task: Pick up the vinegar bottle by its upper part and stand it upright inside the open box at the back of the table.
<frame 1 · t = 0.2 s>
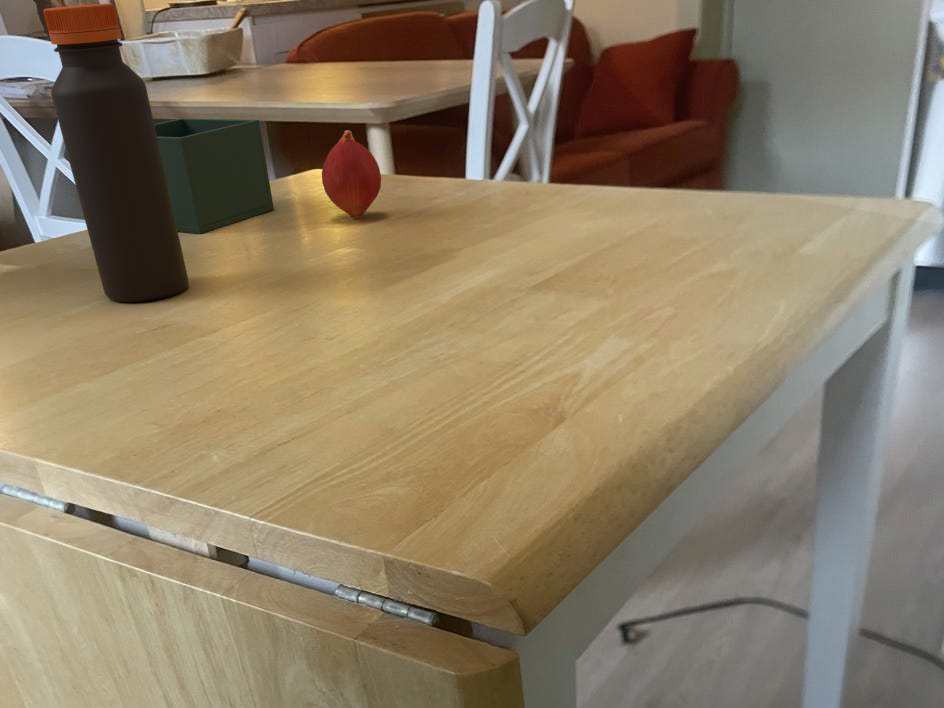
vinegar: (148, 294, 83), on the table
open box: (200, 218, 106), on the table
onion: (356, 220, 101), on the table
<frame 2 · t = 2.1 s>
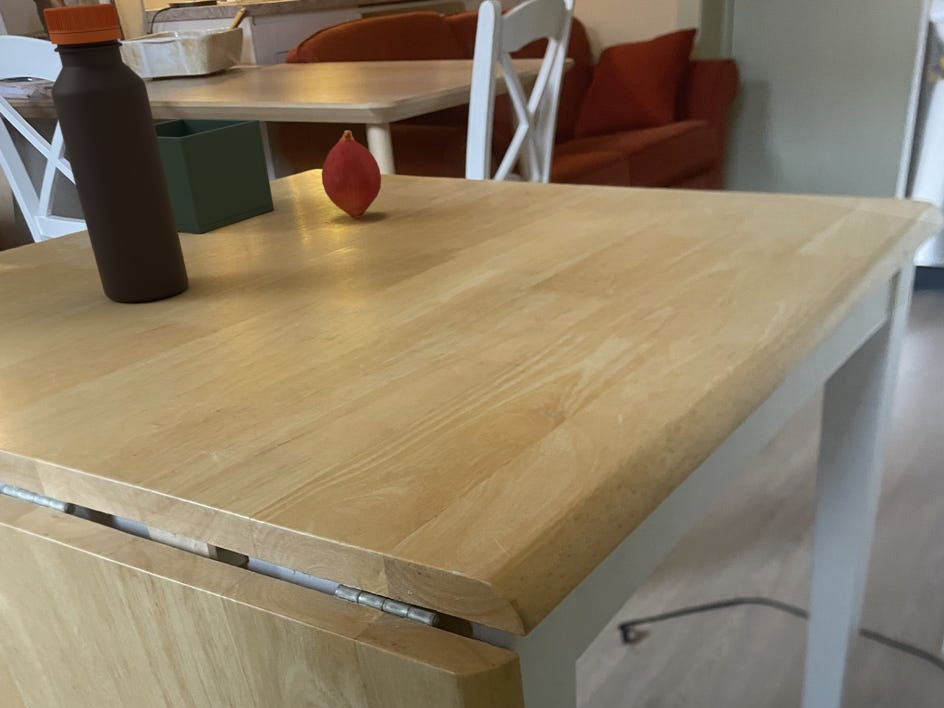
nothing on the table moved.
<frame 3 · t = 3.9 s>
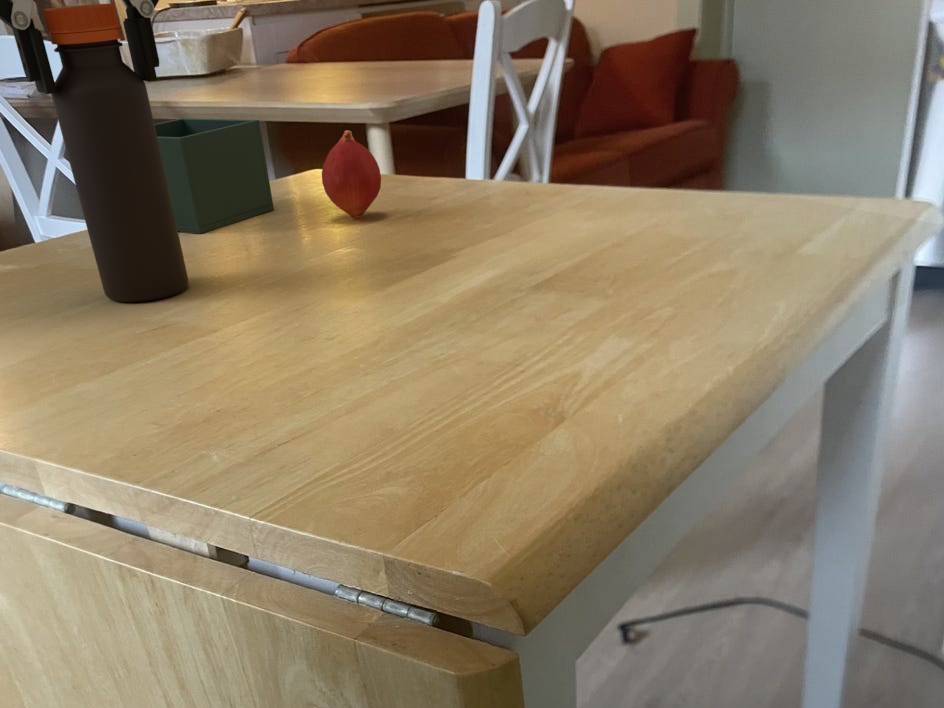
hand: (97, 83, 75), 15 cm above the table, tool pointing down, fingers closed on vinegar, 6 cm apart
vinegar: (148, 294, 83), on the table, touching gripper
everything else where it was.
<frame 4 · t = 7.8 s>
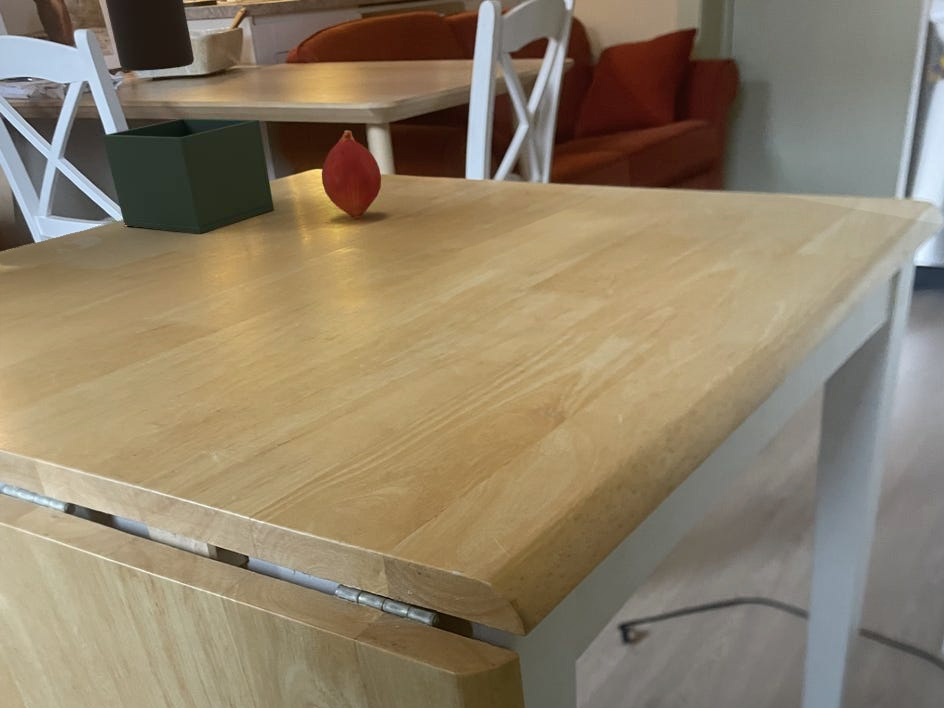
vinegar: (159, 69, 95), point 14 cm above the table, touching gripper
everything else where it was.
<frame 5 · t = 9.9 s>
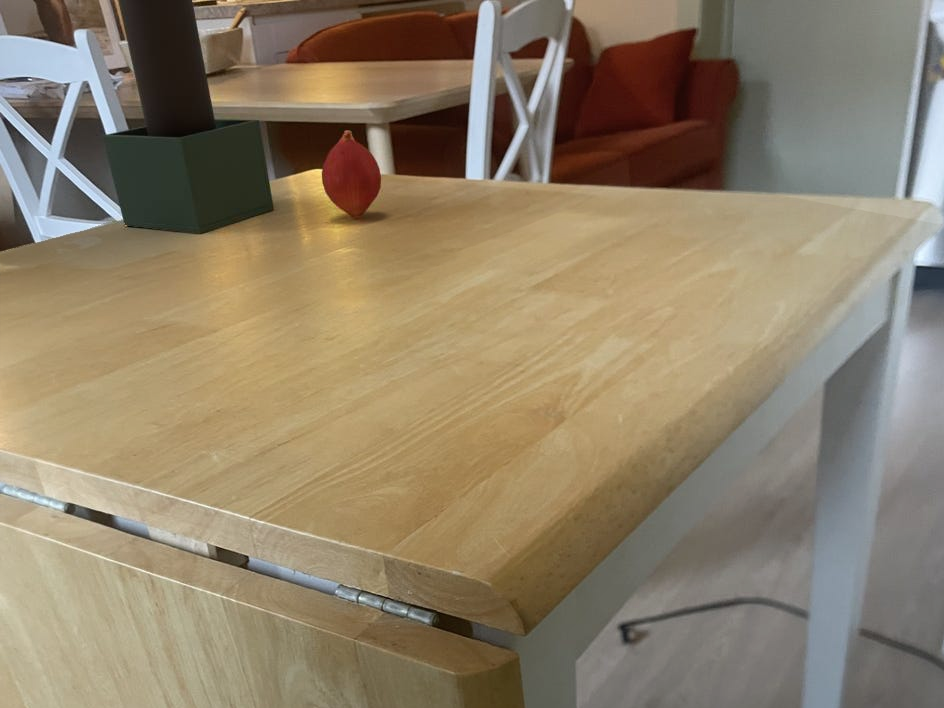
vinegar: (187, 158, 103), point 6 cm above the table, touching gripper
everything else where it was.
when the fingers open (16 cm above the table, at t = 11.7 s): vinegar stays where it is, resting on open box.
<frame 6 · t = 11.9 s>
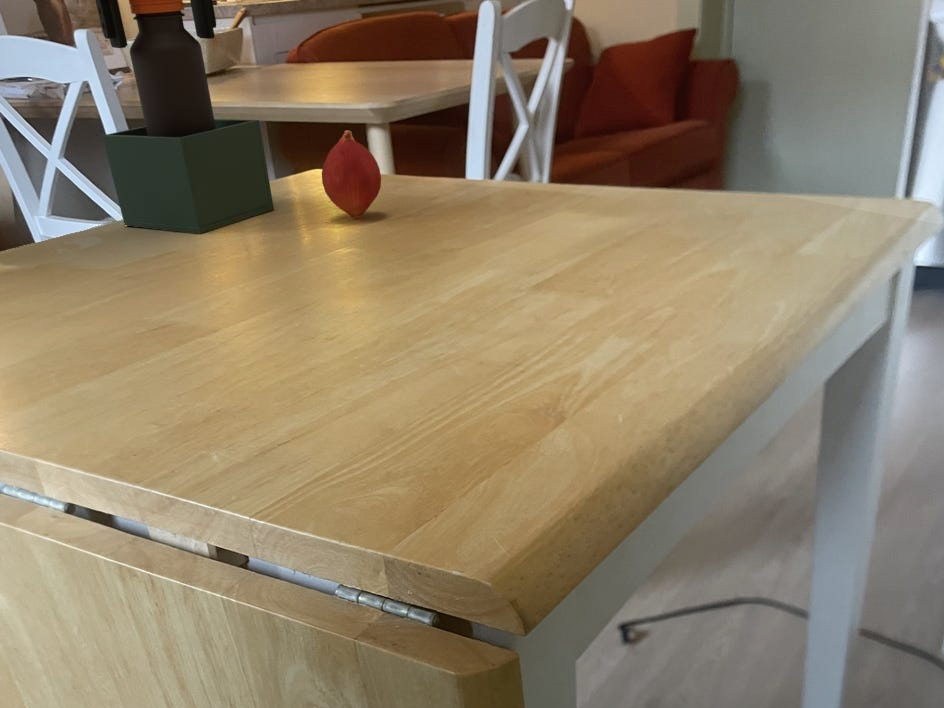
hand: (163, 41, 97), 16 cm above the table, tool pointing down, fingers open, 8 cm apart
vinegar: (198, 213, 106), resting on open box
everything else where it was.
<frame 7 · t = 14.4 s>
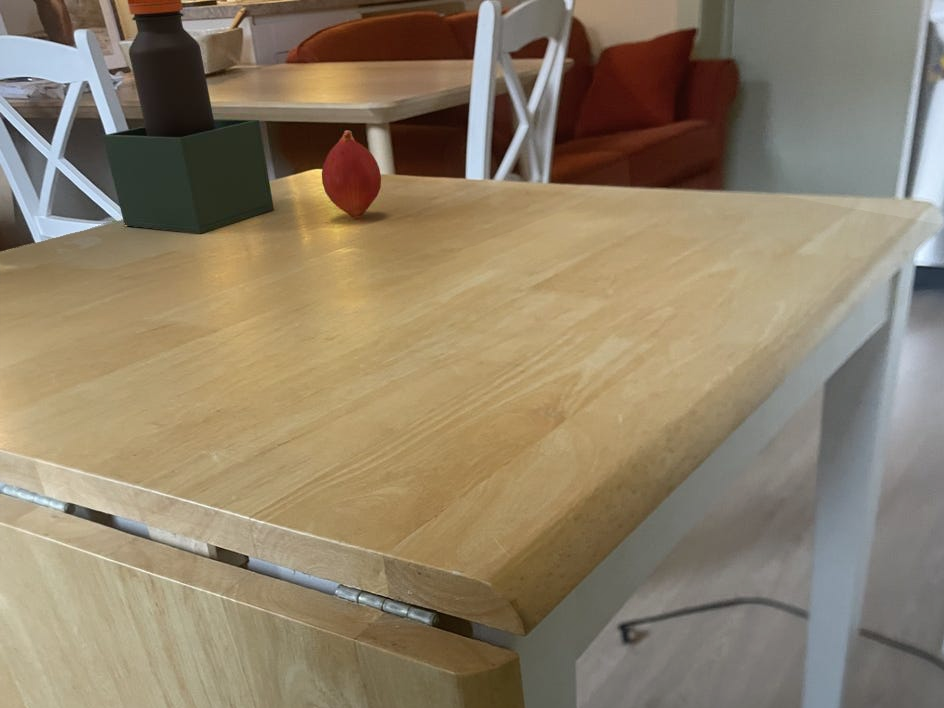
nothing on the table moved.
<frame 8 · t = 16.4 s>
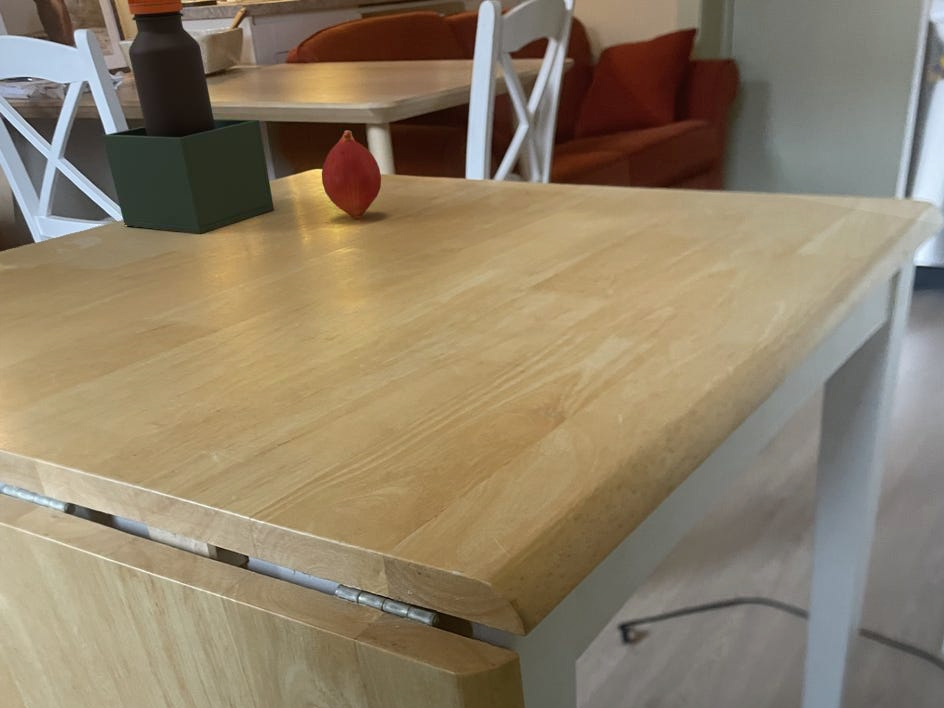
nothing on the table moved.
at the end: vinegar inside the target area in the open box (0.1 cm from its centre), point 0.4 cm above the open box's base; vinegar tilted 0° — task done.
